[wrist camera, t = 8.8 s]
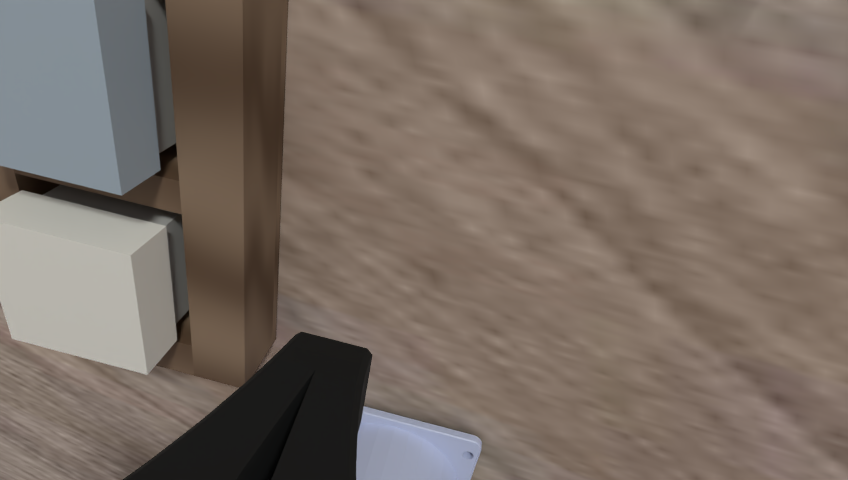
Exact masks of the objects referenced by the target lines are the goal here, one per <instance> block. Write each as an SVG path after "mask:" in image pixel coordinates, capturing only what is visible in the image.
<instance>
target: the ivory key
mask: <svg viewBox="0 0 848 480" xmlns="http://www.w3.org/2000/svg"><path fill="white" fill-rule="evenodd" d="M0 302H1V305H2V308H3V311H4V314H5V318H6V321H7V324H8V327H9V330H10V333H11V337H12V339H15V340H19V341H22V342H26V343H30V344H34V345H37V346H41V347H45V348H49V349H52V350H56V351H60V352H64V353H68V354H71V355H75V356H79V357H83V358H86V359H90V360H94V361H98V362H101V363H105V364H109V365H113V366H116V367H120V368H124V369H128V370H131V371H135V372H139V373H143V374H146V375H148V374H149V373H150V371H151V370H152V369H153V368H154V367H155V366H156V364H157V363H158V362H159V361H160V360H161V359H162V357H163V356H164V355H165V354H166V353H167V351H168V350H169V349H170V348H171V347H172V346H173V344H174V343H175V342H176V341H177V333H176V324H177V323H178V321H179V320H180V319H181V318H182V317H183V316H184V315H185V314H186V312H187V311H188V310H189V302H188V289H187V276H186V263H185V250H184V237H183V224H182V214H178V213H174V212H170V211H166V210H162V209H158V208H154V207H150V206H146V205H141V204H137V203H133V202H129V201H125V200H121V199H117V198H113V197H109V196H105V195H101V194H97V193H93V192H89V191H85V190H81V189H77V188H73V187H69V186H65V185H59V186H57V187H56V188H54V189H52V190H50V191H48V192H47V193H45V194H43V195H40V194H36V193H32V192H28V191H24V190H21V191H19V192H17V193H15V194H14V195H12V196H10V197H8V198H6V199H4V200H2V201H0Z"/></svg>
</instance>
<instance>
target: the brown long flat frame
mask: <svg viewBox="0 0 848 480" xmlns="http://www.w3.org/2000/svg"><path fill="white" fill-rule="evenodd" d="M165 4H166V17H167V30H168V43H169V55H170V68H171V81H172V94H173V107H174V120H175V133H176V143H175V144H174V145H172V146H170V147H169V148H167V149H165V150H164V151H162V152H161V153H159V158H160V168H161V170H160V171H158V172H157V173H155V174H154V175H152V176H151V177H149V178H148V179H146V180H145V181H143V182H142V183H140V184H139V185H137V186H136V187H134V188H133V189H131V190H130V191H128V192H127V193H125V194H124V195H122V196H121V195H117V194H113V193H109V192H105V191H101V190H97V189H93V188H89V187H85V186H81V185H77V184H72V183H68V182H64V181H60V180H56V179H52V178H48V177H44V176H40V175H36V174H32V173H28V172H24V171H20V170H16V169H12V168H8V167H4V166H0V201H2V200H4V199H6V198H8V197H10V196H12V195H14V194H15V193H17V192H19V191H21V190H24V191H28V192H32V193H36V194H40V195H43V194H45V193H47V192H48V191H50V190H52V189H54V188H56V187H57V186H59V185H65V186H69V187H73V188H77V189H81V190H85V191H89V192H93V193H97V194H101V195H105V196H109V197H113V198H117V199H121V200H125V201H129V202H133V203H137V204H141V205H146V206H150V207H154V208H158V209H162V210H166V211H170V212H174V213H178V214H182V224H183V237H184V250H185V263H186V276H187V289H188V302H189V310H188V311H187V312H186V314H185V315H184V316H183V317H182V318H181V319H180V320H179V321H178V323H177V324H176V333H177V341H176V342H175V343H174V344H173V346H172V347H171V348H170V349H169V350H168V351H167V353H166V354H165V355H164V356H163V357H162V359H161V360H160V361H159V362H158V363H157V364H156V365H157V366H160V367H164V368H168V369H172V370H175V371H179V372H183V373H187V374H191V375H194V376H198V377H202V378H206V379H209V380H213V381H217V382H221V383H224V384H228V385H232V386H236V387H241V386H242V385H243V384H244V383H246V382H247V381H248V380H249V379H250V378H251V377H252V376H253V375H254V373H255V372H256V370H257V368H258V367H259V365H260V363H261V362H262V360H263V359H264V357H265V355H266V354H267V352H268V351H269V349H270V347H271V346H272V344H273V342H274V341H275V339H276V321H277V294H278V266H279V239H280V211H281V184H282V156H283V128H284V101H285V73H286V46H287V18H288V0H165Z"/></svg>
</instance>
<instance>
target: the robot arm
mask: <svg viewBox="0 0 848 480" xmlns="http://www.w3.org/2000/svg"><path fill="white" fill-rule="evenodd" d="M371 360H372V354H371V353H370V352H369V350H368V349H367V348H363V347H359V346H355V345H351V344H347V343H343V342H340V341H336V340H332V339H328V338H324V337H320V336H316V335H312V334H308V333H305V332H300V333H298V334H296V335H295V336H294V337H293V338H292V339H291V340H290V341H289V342H288V343H287V344H286V345H285V346H284V347H283V348H282V349H281V350H280V351H279V352H278V353H277V354H276V355H275V356H274V357H273V358H272V359H271V360H269V361H268V362H267V363H266V364H265V365H264V366H263V367H262V368H261V369H260V370H259V371H258V372H257V373H255V374H254V375H253V376H252V377H251V378H250V379H249V380H248V381H247V382H246V383H244V384H243V385H242V386H241V387H240V388H239V389H238V390H236V391H235V392H234V393H233V394H232V395H231V396H229V397H228V398H227V399H226V400H225V401H224V402H222V403H221V404H220V405H219V406H218V407H217V408H215V409H214V410H213V411H212V412H211V413H210V414H208V415H207V416H206V417H205V418H203V419H202V420H201V421H200V422H199V423H197V424H196V425H195V426H193V427H192V428H191V429H190V430H188V431H187V432H186V433H184V434H183V435H182V436H181V437H179V438H178V439H177V440H175V441H174V442H173V443H172V444H170V445H169V446H168V447H166V448H165V449H164V450H163V451H161V452H160V453H159V454H157V455H156V456H155V457H153V458H152V459H151V460H149V461H148V462H147V463H145V464H144V465H142V466H141V467H140V468H138V469H137V470H136V471H134V472H133V473H131V474H130V475H129V476H127V477H126V478H124V479H123V480H470V479H471V477H472V474H473V471H474V469H475V466H476V463H477V460H478V458H479V455H480V452H481V446H482V442H481V440H480V439H479V438H478V437H477V436H475V435H472V434H468V433H464V432H460V431H456V430H453V429H449V428H445V427H441V426H437V425H434V424H430V423H426V422H422V421H418V420H415V419H411V418H407V417H403V416H399V415H396V414H392V413H388V412H384V411H380V410H377V409H373V408H369V407H365V406H364V401H365V395H366V389H367V383H368V378H369V372H370V366H371Z"/></svg>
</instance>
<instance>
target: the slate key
mask: <svg viewBox="0 0 848 480" xmlns="http://www.w3.org/2000/svg"><path fill="white" fill-rule="evenodd" d="M175 143H176V133H175V120H174V107H173V94H172V81H171V68H170V55H169V43H168V30H167V17H166V4H165V0H0V166H4V167H8V168H12V169H16V170H20V171H24V172H28V173H32V174H36V175H40V176H44V177H48V178H52V179H56V180H60V181H64V182H68V183H72V184H77V185H81V186H85V187H89V188H93V189H97V190H101V191H105V192H109V193H113V194H117V195H121V196H122V195H124V194H125V193H127V192H128V191H130V190H131V189H133V188H134V187H136V186H137V185H139V184H140V183H142V182H143V181H145V180H146V179H148V178H149V177H151V176H152V175H154V174H155V173H157V172H158V171H160V170H161V168H160V158H159V153H161V152H162V151H164V150H165V149H167V148H169V147H170V146H172V145H174V144H175Z"/></svg>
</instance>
